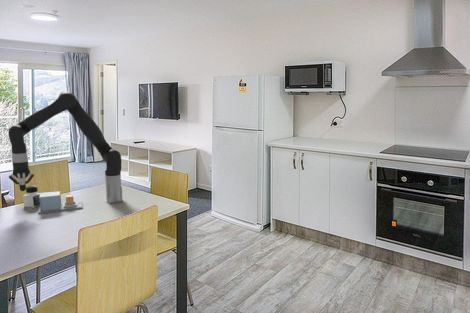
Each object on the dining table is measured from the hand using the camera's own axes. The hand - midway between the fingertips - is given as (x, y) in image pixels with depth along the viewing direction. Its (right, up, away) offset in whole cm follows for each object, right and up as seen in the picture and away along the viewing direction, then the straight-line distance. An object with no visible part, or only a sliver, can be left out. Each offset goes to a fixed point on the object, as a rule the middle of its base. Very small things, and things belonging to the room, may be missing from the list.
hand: (23, 190), depth 202 cm
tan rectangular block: (+21, -10, +12) cm, 26 cm away
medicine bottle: (-3, -11, +15) cm, 19 cm away
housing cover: (+12, -11, +8) cm, 18 cm away
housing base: (+17, -11, +10) cm, 23 cm away
